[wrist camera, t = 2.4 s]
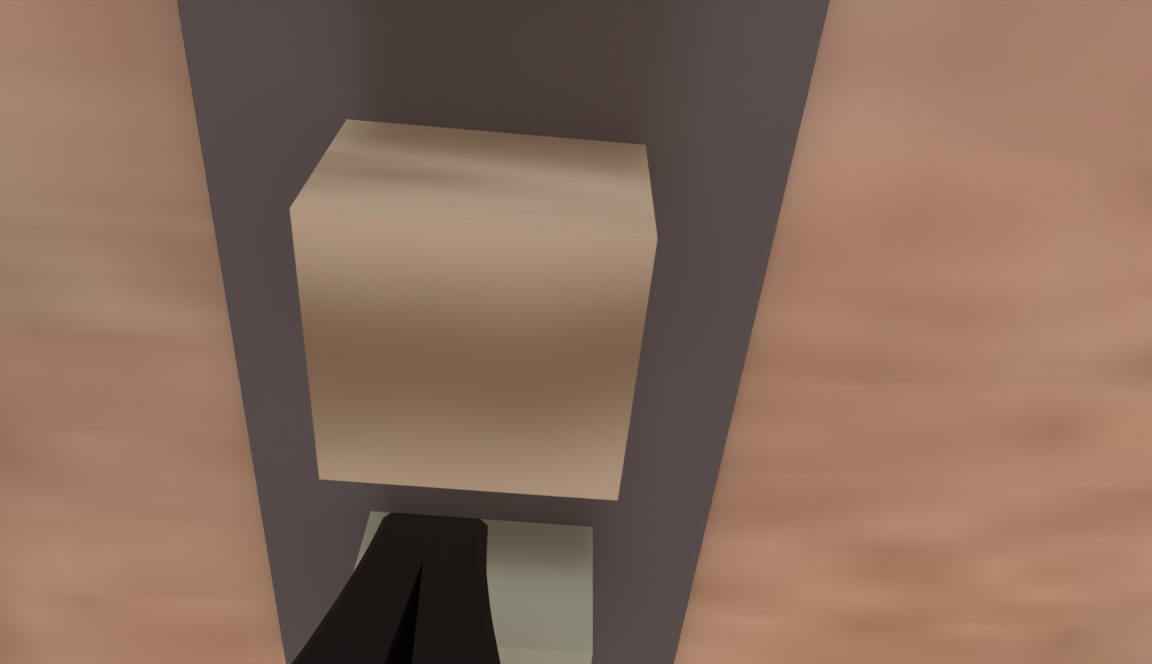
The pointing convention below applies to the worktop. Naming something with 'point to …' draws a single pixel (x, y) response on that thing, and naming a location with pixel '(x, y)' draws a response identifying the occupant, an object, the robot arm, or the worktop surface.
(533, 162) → the plain block
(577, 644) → the numeral block seven
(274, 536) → the tap mat
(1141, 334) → the worktop surface
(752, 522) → the worktop surface
